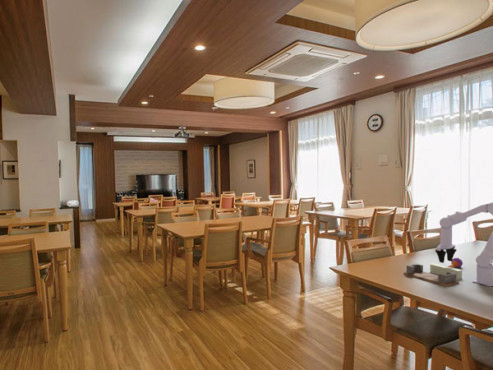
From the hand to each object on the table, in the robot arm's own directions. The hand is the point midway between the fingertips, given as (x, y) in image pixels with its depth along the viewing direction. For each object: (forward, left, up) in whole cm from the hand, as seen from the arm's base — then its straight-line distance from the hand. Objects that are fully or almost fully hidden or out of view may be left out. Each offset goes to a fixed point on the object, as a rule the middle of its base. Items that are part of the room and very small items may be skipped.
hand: (445, 261), depth 192 cm
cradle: (0, +14, -8) cm, 16 cm away
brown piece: (+6, -17, -8) cm, 20 cm away
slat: (0, 0, -8) cm, 8 cm away
